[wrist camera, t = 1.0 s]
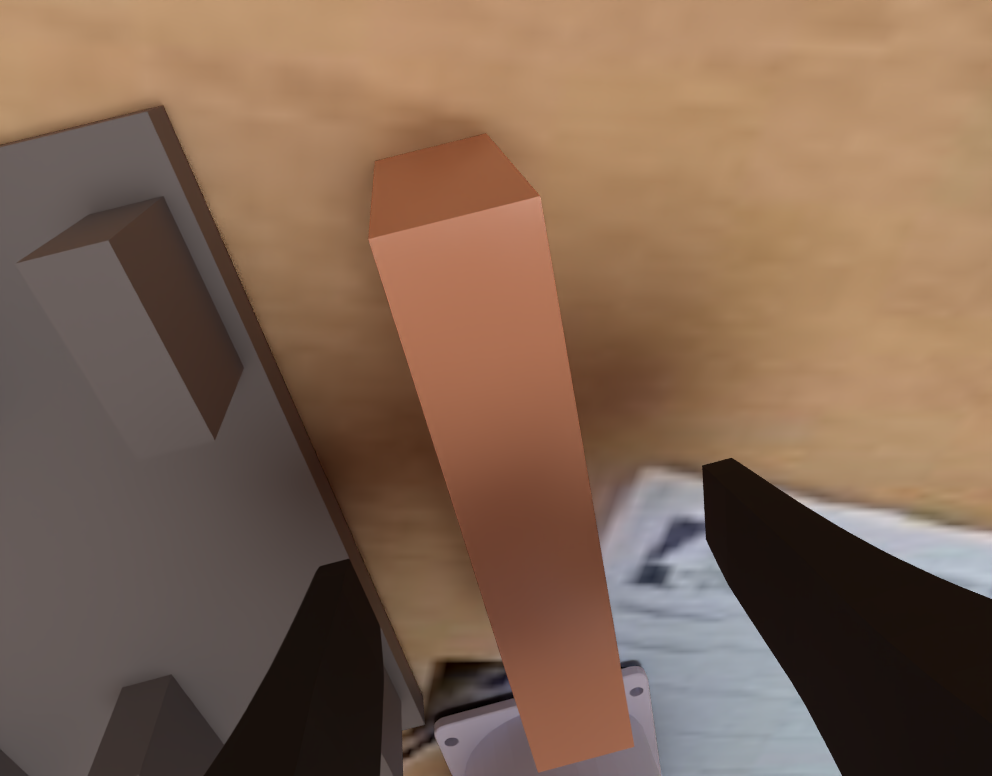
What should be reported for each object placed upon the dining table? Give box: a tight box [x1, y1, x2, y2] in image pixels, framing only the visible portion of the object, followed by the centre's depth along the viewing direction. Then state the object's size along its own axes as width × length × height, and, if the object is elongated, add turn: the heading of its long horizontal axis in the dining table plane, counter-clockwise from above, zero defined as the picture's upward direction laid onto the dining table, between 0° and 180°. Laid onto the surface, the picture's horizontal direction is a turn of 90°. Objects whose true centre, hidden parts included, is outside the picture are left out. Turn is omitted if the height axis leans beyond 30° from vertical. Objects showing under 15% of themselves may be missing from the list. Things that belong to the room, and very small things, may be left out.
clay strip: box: [368, 133, 634, 773], centre depth 15 cm, size 14×2×6 cm, turn 12°
